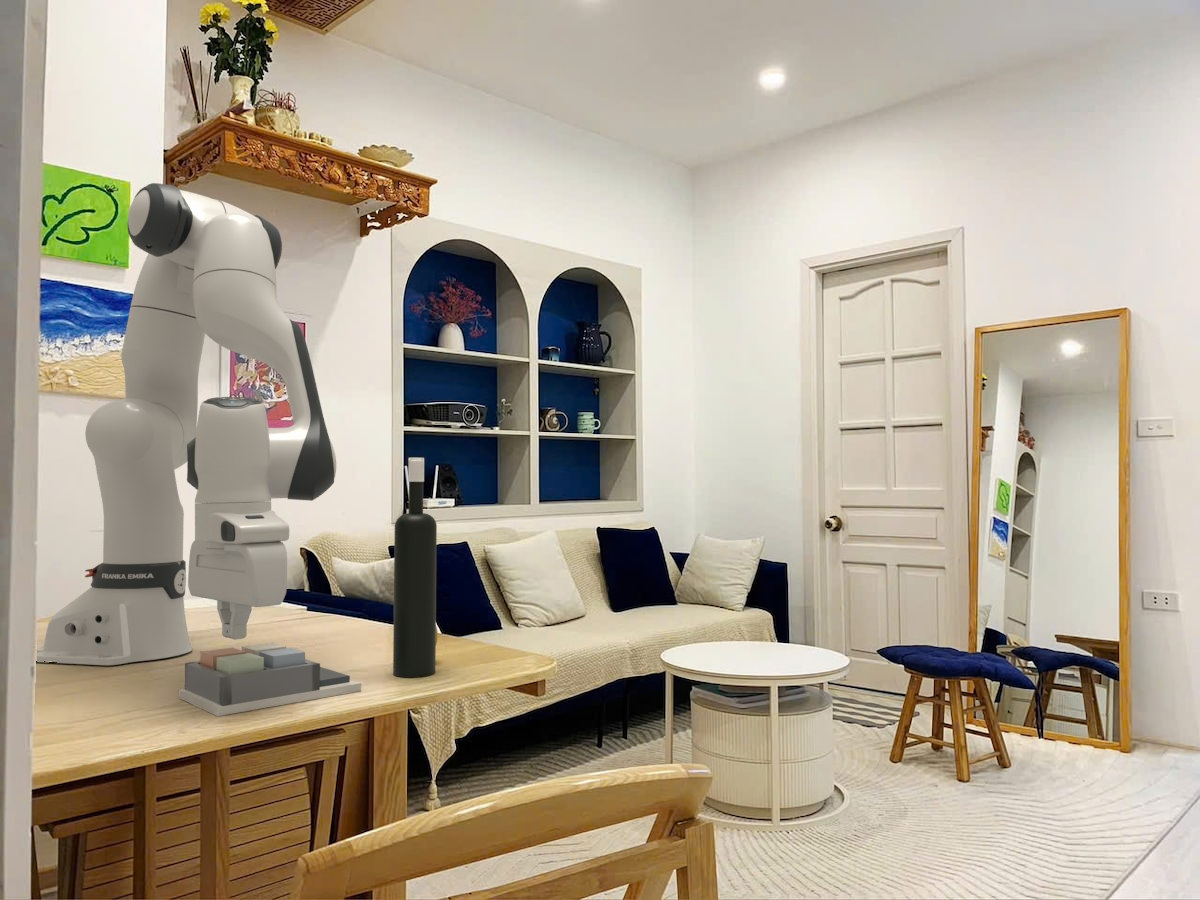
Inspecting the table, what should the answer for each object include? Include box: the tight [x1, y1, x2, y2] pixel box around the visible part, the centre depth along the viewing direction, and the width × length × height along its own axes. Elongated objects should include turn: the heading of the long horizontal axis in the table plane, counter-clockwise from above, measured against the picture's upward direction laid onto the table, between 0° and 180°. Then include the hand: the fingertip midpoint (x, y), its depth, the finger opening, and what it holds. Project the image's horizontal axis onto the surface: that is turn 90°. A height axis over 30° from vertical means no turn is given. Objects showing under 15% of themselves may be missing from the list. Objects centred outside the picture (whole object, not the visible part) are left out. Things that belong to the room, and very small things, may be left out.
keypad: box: [178, 658, 362, 717], centre depth 112 cm, size 18×12×4 cm, turn 134°
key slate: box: [259, 647, 306, 669], centre depth 111 cm, size 4×4×2 cm
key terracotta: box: [199, 647, 246, 669], centre depth 111 cm, size 4×4×2 cm
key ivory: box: [241, 642, 287, 656], centre depth 114 cm, size 4×4×2 cm
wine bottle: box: [392, 457, 438, 678], centre depth 126 cm, size 6×6×30 cm
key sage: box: [216, 653, 264, 675], centre depth 107 cm, size 4×4×2 cm
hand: (234, 637), depth 111 cm, fingers closed
